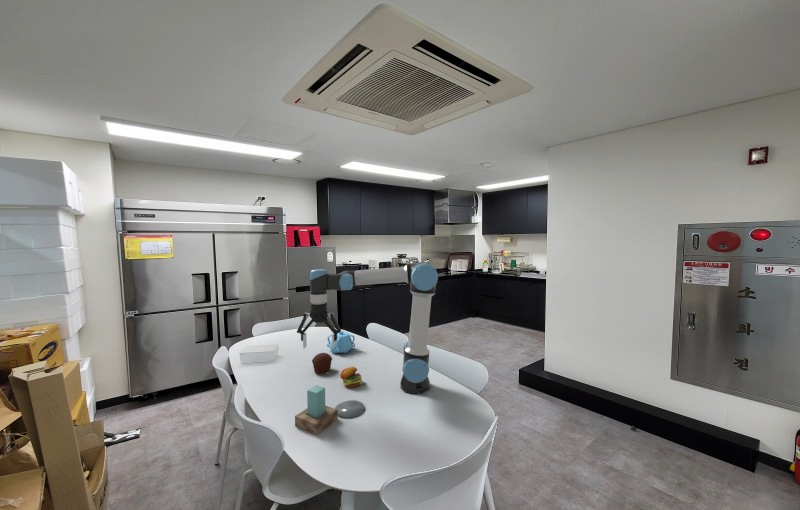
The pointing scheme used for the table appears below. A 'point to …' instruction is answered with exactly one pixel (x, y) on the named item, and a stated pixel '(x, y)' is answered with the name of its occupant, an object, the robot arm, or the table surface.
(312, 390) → the post
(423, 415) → the table surface
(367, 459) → the table surface
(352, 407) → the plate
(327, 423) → the holder
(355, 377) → the cheeseburger
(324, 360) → the muffin
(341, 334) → the decorative pot
